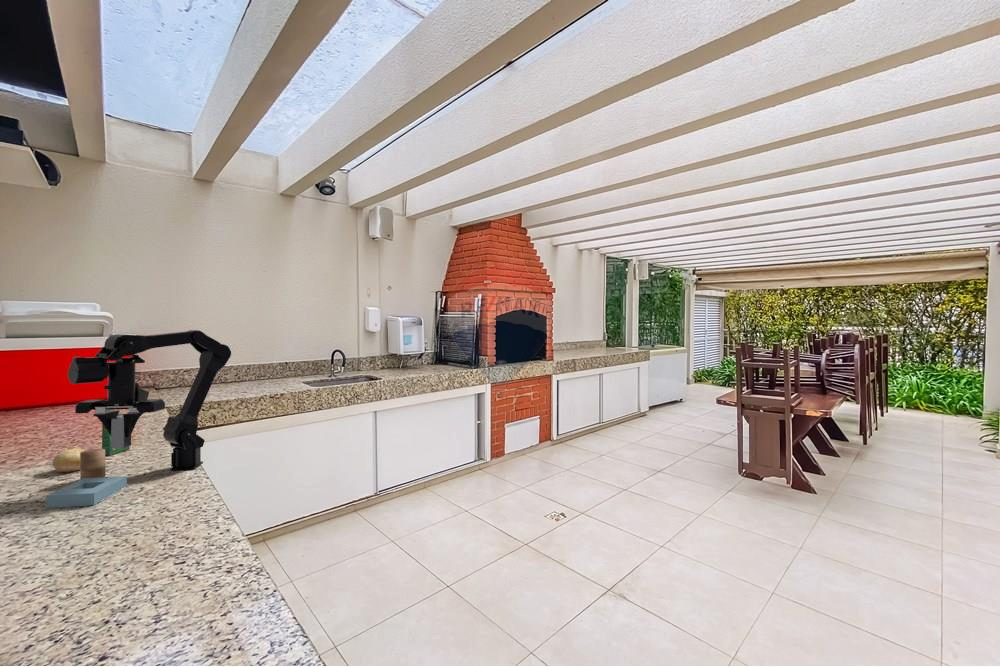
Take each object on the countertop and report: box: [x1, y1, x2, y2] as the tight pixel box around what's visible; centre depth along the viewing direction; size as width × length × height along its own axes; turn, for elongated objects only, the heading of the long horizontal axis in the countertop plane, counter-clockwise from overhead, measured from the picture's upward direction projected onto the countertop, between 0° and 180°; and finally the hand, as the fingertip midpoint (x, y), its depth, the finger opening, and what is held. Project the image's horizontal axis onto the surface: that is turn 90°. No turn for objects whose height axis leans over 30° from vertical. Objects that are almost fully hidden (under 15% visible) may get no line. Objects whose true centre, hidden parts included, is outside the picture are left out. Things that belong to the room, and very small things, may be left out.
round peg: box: [79, 448, 107, 480], centre depth 124 cm, size 5×5×8 cm
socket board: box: [45, 475, 128, 509], centre depth 112 cm, size 10×12×3 cm
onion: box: [52, 445, 85, 473], centre depth 132 cm, size 8×8×7 cm
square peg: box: [111, 417, 132, 449], centre depth 120 cm, size 3×3×8 cm
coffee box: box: [101, 412, 130, 456], centre depth 149 cm, size 8×3×13 cm, turn 178°
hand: (121, 437), depth 120 cm, fingers closed on square peg, 3 cm apart
